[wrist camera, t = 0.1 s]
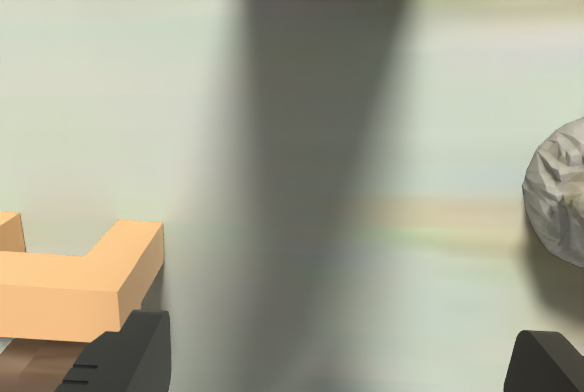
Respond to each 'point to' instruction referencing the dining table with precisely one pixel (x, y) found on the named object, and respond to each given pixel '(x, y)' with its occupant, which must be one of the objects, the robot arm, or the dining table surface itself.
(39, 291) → the tan u-shaped block
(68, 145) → the dining table surface
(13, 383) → the brown slotted wooden block
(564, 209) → the ceramic cottage
